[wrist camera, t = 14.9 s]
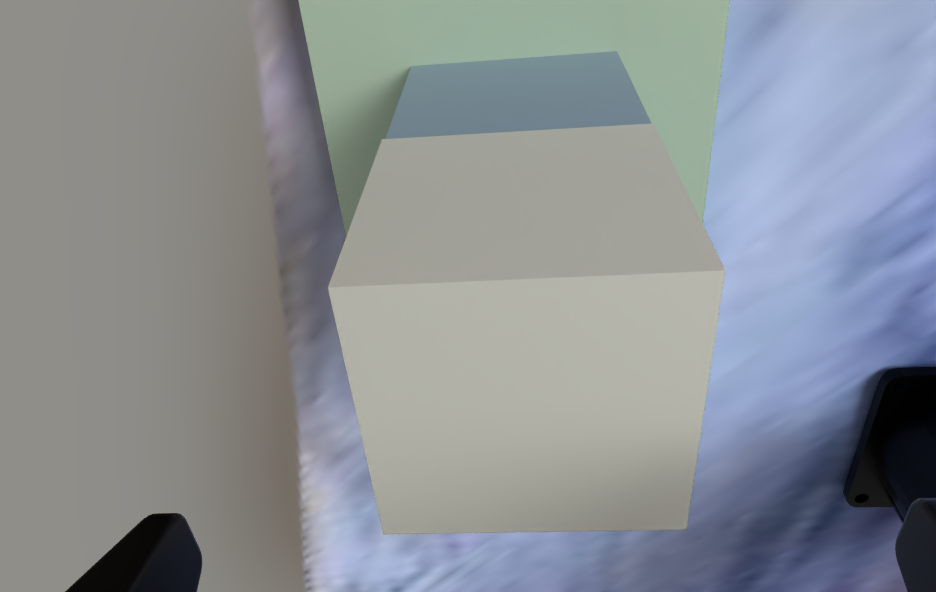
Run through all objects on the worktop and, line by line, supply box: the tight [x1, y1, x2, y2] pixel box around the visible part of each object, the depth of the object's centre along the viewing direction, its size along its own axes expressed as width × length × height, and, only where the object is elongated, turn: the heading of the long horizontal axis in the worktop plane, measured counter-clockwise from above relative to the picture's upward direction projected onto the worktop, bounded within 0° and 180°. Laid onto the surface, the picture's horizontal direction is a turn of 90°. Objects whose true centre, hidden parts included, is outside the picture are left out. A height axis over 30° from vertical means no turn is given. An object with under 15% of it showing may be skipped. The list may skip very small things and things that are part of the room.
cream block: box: [328, 123, 725, 534], centre depth 12 cm, size 5×5×5 cm
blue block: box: [386, 51, 651, 139], centre depth 17 cm, size 5×5×5 cm
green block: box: [298, 0, 730, 236], centre depth 19 cm, size 10×10×1 cm
